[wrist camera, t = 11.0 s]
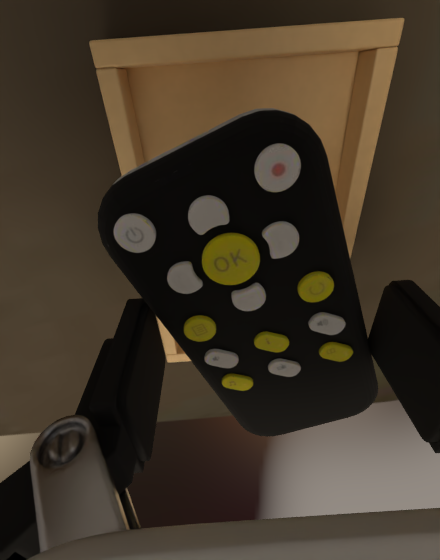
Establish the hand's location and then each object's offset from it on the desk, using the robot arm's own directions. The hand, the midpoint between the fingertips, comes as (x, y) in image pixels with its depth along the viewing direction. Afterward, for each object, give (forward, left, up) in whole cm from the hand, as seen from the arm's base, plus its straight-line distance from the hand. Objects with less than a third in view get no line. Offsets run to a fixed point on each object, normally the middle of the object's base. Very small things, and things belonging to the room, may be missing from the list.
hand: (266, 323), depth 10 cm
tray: (0, 0, -8) cm, 8 cm away
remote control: (0, 0, -1) cm, 1 cm away
